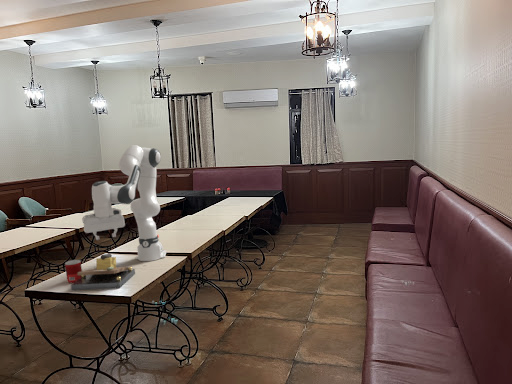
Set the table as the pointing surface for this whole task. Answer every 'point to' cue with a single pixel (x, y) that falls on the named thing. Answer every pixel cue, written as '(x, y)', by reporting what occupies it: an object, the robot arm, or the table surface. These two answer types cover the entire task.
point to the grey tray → (103, 280)
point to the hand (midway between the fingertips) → (106, 238)
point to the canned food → (73, 270)
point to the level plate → (93, 271)
